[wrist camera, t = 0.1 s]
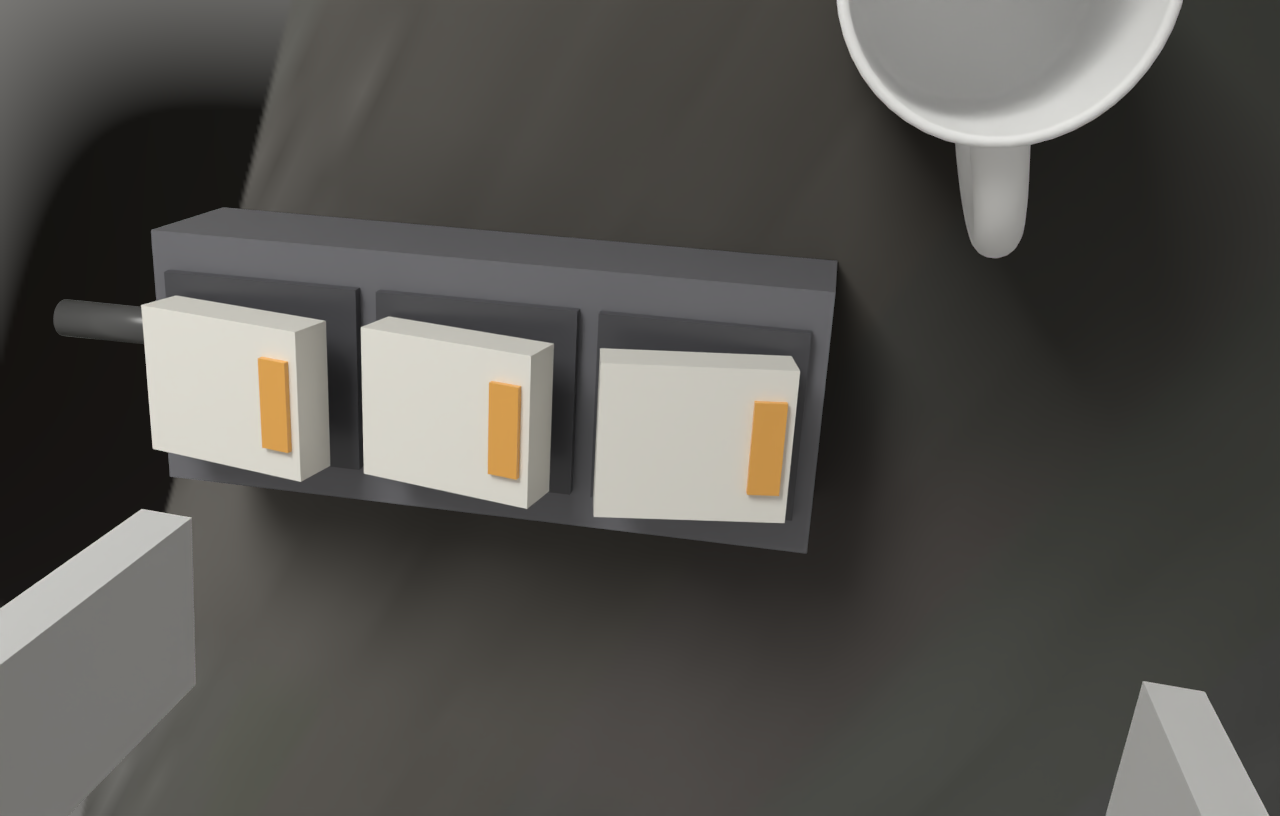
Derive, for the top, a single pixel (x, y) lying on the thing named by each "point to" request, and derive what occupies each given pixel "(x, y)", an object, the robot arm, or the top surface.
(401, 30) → the top surface
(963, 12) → the mug
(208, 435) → the rocker
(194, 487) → the top surface
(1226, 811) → the robot arm
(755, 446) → the rocker
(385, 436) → the rocker
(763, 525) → the power strip
